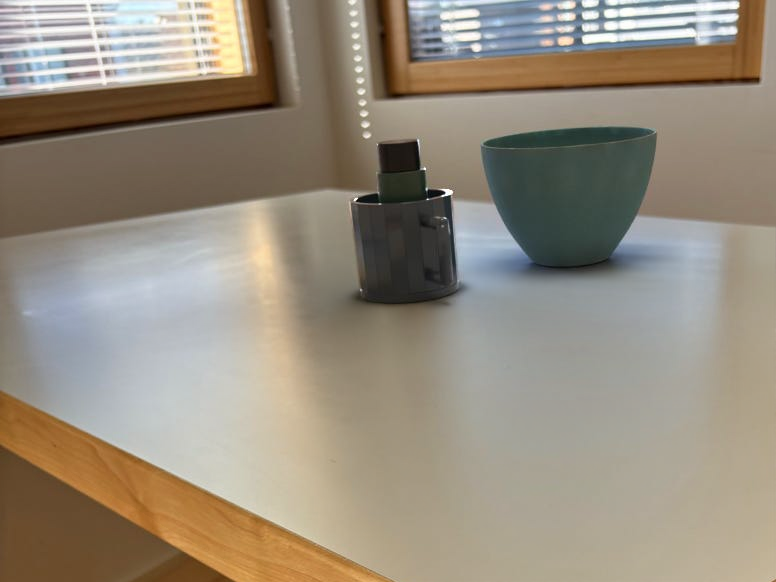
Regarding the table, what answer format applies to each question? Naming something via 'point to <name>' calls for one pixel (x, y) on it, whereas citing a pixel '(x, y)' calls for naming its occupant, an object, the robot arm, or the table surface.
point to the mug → (405, 247)
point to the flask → (400, 172)
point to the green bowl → (569, 189)
